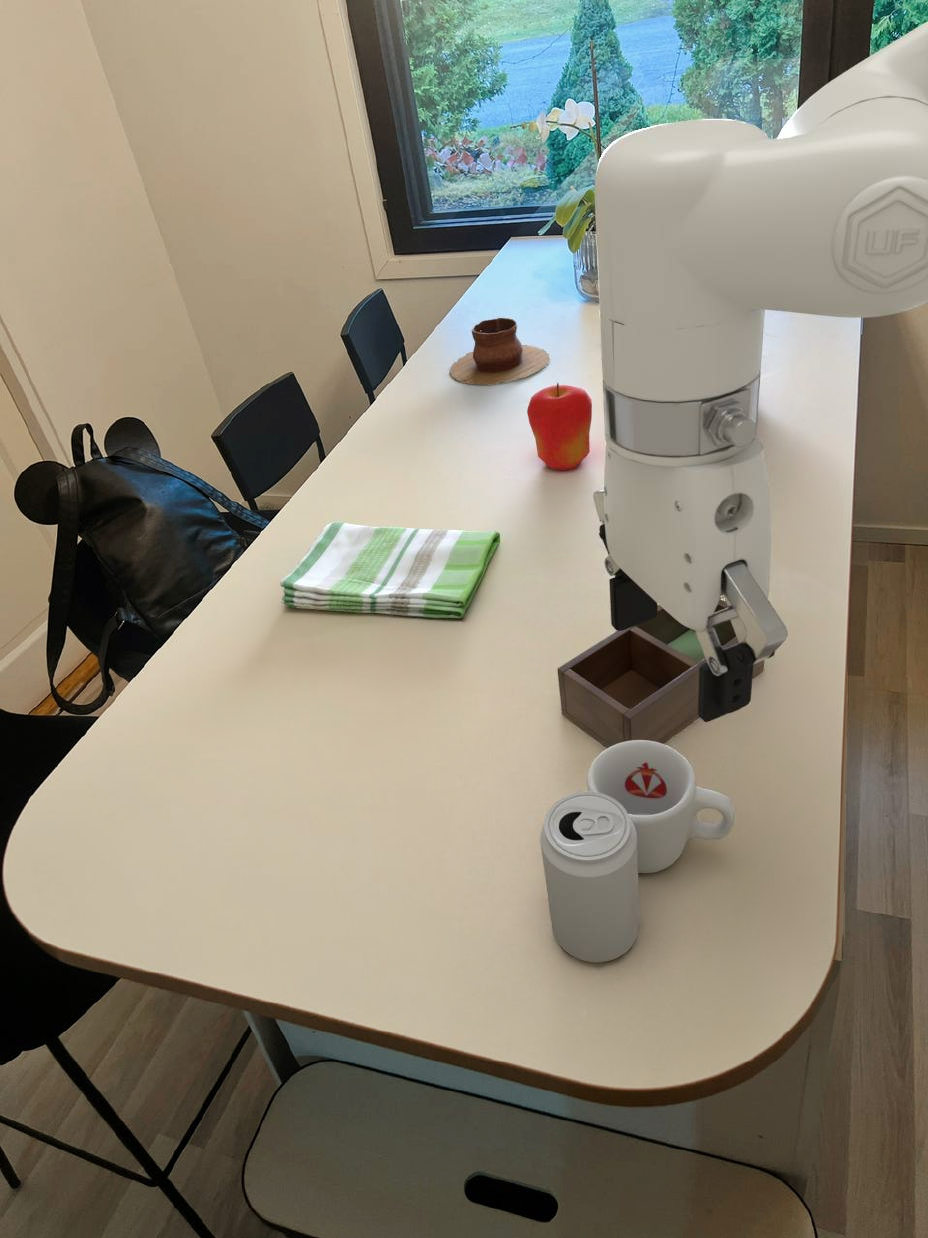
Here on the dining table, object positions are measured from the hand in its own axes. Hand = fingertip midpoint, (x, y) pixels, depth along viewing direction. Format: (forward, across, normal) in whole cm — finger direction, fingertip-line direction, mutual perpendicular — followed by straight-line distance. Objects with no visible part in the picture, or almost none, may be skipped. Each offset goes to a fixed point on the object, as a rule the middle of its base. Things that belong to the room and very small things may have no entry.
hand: (676, 663), depth 54 cm
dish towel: (+22, +52, +5) cm, 57 cm away
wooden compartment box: (+22, +18, -10) cm, 30 cm away
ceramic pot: (+22, +104, -32) cm, 111 cm away
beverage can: (+22, -1, +8) cm, 23 cm away
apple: (+22, +65, -24) cm, 72 cm away
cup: (+22, +3, -1) cm, 22 cm away
